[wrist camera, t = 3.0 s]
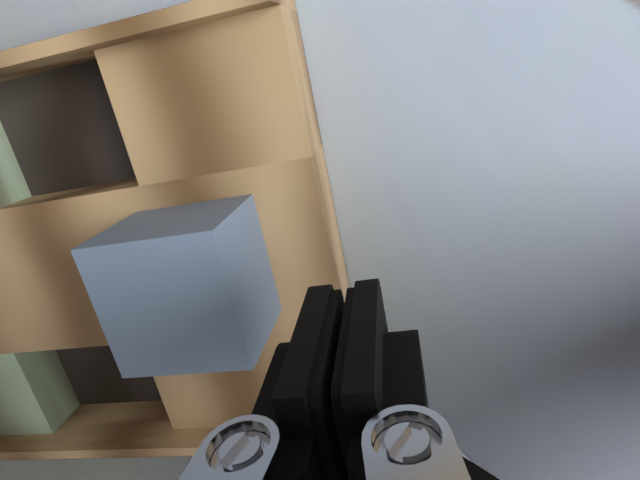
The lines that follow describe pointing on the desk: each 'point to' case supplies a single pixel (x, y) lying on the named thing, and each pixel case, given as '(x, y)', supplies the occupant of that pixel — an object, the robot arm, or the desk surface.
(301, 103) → the box
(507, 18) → the desk surface
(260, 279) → the block
